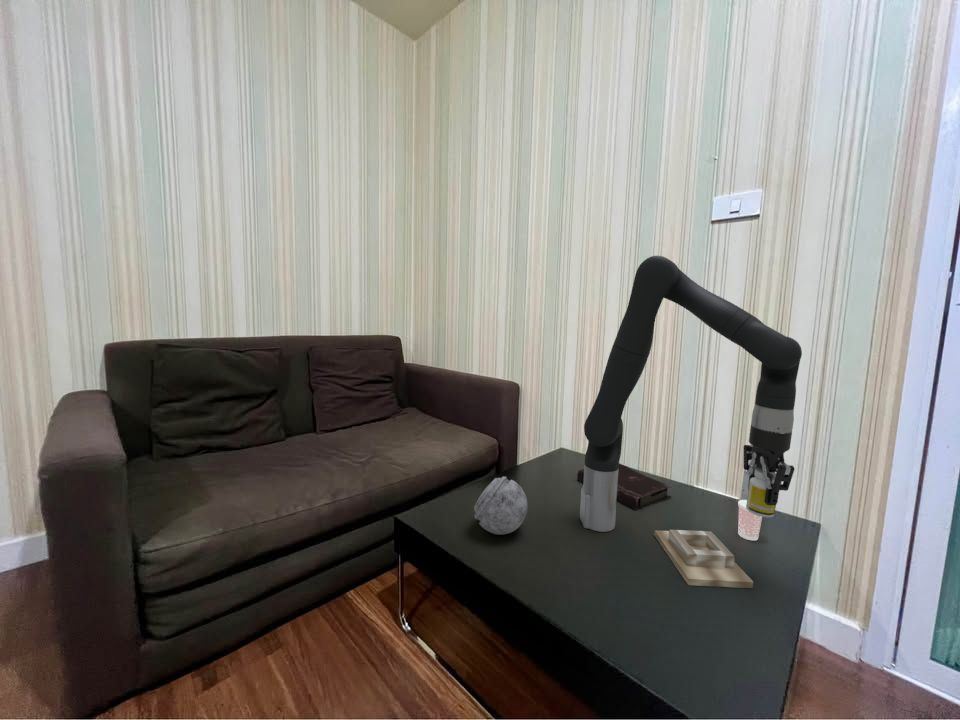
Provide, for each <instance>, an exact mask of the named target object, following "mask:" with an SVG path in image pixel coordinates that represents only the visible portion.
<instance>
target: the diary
mask: <svg viewBox="0 0 960 720" xmlns="http://www.w3.org/2000/svg"><path fill="white" fill-rule="evenodd" d="M576 479H577V481H578V480H579V481H578V482H580V481H581V482H580V483H582V482H583V483H584V468H581V469H579V470H578V472H577V475H576ZM583 483H582V484H583ZM669 488H673V486H671V485H670V484H667V483H665V482H662V481H659V480H658V479H655V478H652V477H650V476H648V475H645V474H643V473H640V472H639V471H636V470H635V469H633V468H631V467H629V466H627V465H624V464H623V463H620V462H619V471H618V486H617V501H616V502H619V503H620V504H623V505H625V506H627V507H628V508H630V509H632V510H634V511H638V509H640V508H641V507H644V506H647V505H650V504H651V505H655V504H658V503H661V502H665V501H667V500H669V499H670V498H672V495H668V491H669V490H668V489H669Z"/></svg>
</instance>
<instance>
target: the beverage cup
mask: <svg viewBox="0 0 960 720" xmlns="http://www.w3.org/2000/svg"><path fill="white" fill-rule="evenodd" d="M746 504H747V500H740V499H739V500H738V502H737V505H738V527H737V528H738V529H737V534H738V535H739V536H740V538H743V539H744V540H748V541H757V540H759V536H760V530H761V525H762V520H763V517H761V516H757V515H755V514H753V513H751V512H749V511H748V510H747V508H746Z"/></svg>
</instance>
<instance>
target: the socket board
mask: <svg viewBox="0 0 960 720" xmlns="http://www.w3.org/2000/svg"><path fill="white" fill-rule="evenodd" d="M653 536H654V537H655V538H656V541H658V543H659V545H660V546H661V547H662V549H663V550H664V551H665V554H666V555H667V556H668V558H669V559H670V560H671V562H672V563H673V565H674V567H675V568H676V569H677V571H678V573H680V575H681V577H682V578H683V579H684V581H685V583H686V584H687V585H688V586H699V587H701V586H702V587H718V588H719V587H720V588H735V589H736V588H739V589H753V588H754V581H753V580H752V579H751V578H750V576H749V575H747V574H746V572H745V571H744V570H743V569H742V568H741V567H740V566H739V565H738V564H737V563H736V561H735V559H736V557H735V555H734V553H732V552H731V551H730V550H729V548H727V547H726V545H724V543H722V541H721V540H720V539H719V538H718V537H717V536H716V535H715V534H714V533H713V532H712V531H711V530H709V531H707V530H706V531H705V530H688V529H687V530H686V529H684V530H683V529H668V530H654V535H653Z"/></svg>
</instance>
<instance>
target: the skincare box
mask: <svg viewBox="0 0 960 720" xmlns="http://www.w3.org/2000/svg"><path fill="white" fill-rule="evenodd" d="M742 476H743V477H742V482H741V489H740V496H739V500H747V497H748V483H749V475H748V471H747V470H744V469H743V474H742Z"/></svg>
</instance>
